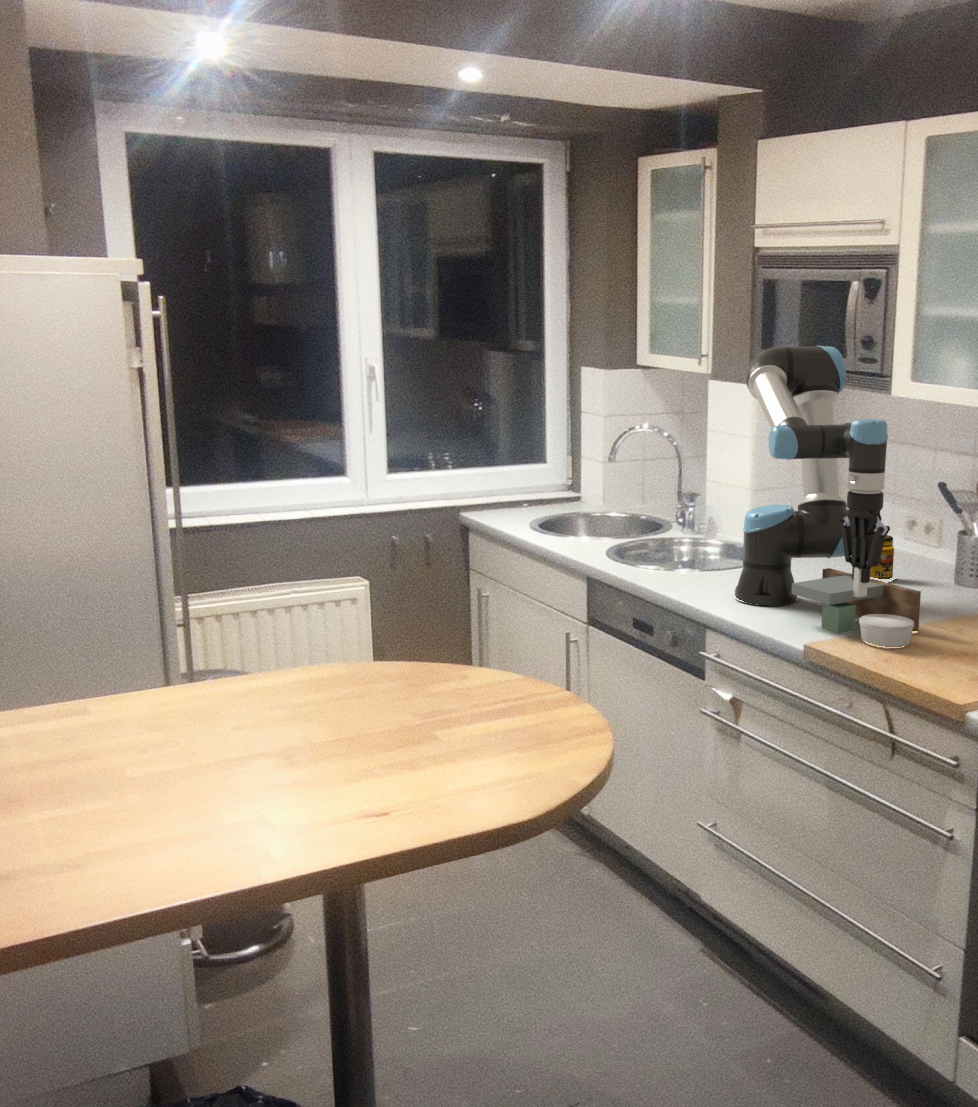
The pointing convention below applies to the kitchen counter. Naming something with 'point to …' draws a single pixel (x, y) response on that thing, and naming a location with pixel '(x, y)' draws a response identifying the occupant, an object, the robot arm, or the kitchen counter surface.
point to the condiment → (885, 561)
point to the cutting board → (886, 600)
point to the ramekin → (886, 630)
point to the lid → (833, 590)
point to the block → (838, 617)
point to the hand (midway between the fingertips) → (859, 596)
